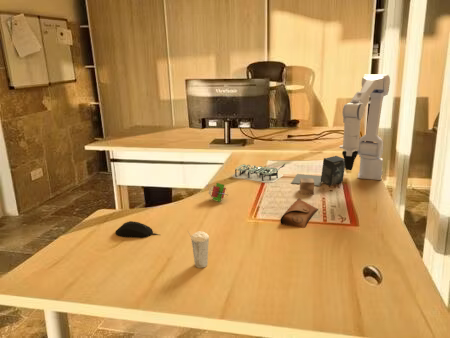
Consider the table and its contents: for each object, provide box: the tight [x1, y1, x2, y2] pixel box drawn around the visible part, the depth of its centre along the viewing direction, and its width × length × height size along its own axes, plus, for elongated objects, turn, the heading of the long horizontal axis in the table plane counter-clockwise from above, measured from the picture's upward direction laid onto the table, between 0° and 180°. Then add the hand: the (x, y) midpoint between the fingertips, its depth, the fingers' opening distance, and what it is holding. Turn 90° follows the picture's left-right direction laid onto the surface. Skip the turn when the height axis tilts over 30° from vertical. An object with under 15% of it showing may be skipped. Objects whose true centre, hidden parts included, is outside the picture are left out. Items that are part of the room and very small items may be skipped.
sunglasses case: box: [279, 197, 319, 229], centre depth 128 cm, size 18×7×7 cm, turn 154°
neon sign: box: [231, 163, 286, 184], centre depth 178 cm, size 21×4×29 cm
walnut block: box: [299, 178, 315, 196], centre depth 150 cm, size 5×5×5 cm
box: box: [320, 155, 346, 186], centre depth 159 cm, size 8×6×11 cm
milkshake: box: [187, 230, 210, 269], centre depth 98 cm, size 4×5×10 cm
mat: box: [290, 173, 323, 187], centre depth 164 cm, size 12×13×1 cm
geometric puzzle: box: [208, 182, 228, 203], centre depth 143 cm, size 7×7×8 cm
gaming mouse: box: [115, 220, 160, 239], centre depth 118 cm, size 6×15×4 cm, turn 78°
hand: (348, 169), depth 146 cm, fingers closed
